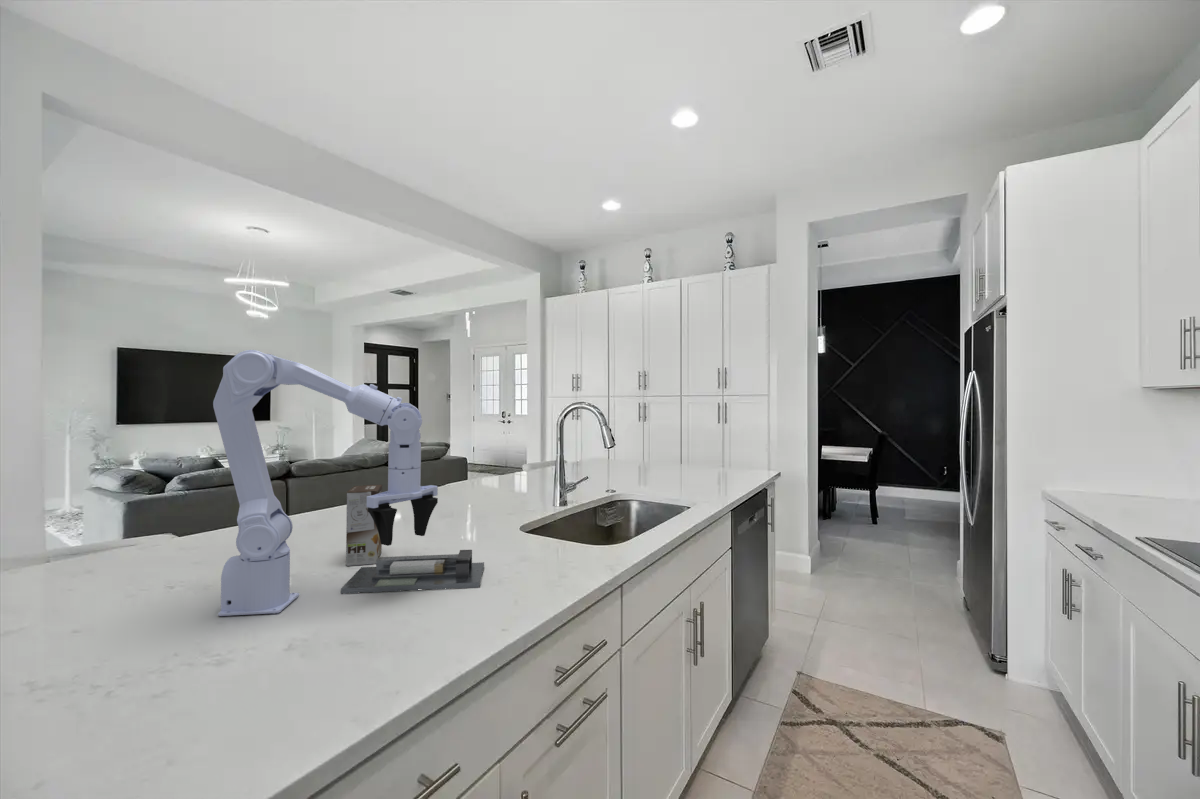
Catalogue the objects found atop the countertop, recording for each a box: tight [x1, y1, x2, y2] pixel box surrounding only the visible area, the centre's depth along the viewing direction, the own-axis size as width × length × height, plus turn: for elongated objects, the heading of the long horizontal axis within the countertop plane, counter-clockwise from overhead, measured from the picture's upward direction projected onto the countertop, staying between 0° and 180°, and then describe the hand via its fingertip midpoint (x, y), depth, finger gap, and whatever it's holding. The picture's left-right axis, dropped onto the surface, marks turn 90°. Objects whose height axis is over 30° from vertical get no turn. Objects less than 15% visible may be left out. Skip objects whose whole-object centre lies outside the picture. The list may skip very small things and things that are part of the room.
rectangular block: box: [390, 560, 445, 576], centre depth 102 cm, size 10×3×2 cm, turn 99°
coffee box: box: [345, 484, 383, 567], centre depth 114 cm, size 9×6×16 cm
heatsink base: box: [340, 549, 485, 595], centre depth 102 cm, size 25×12×5 cm, turn 98°
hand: (403, 539), depth 96 cm, fingers open, 7 cm apart
